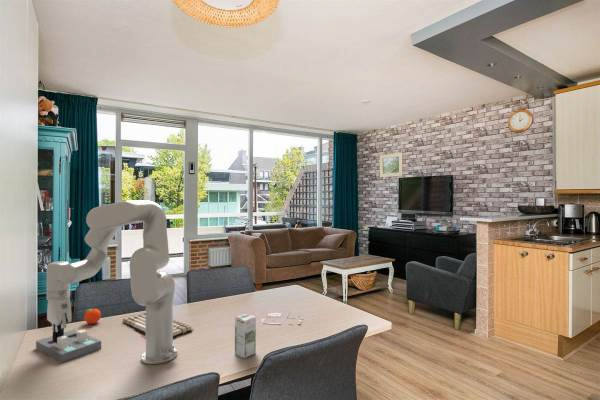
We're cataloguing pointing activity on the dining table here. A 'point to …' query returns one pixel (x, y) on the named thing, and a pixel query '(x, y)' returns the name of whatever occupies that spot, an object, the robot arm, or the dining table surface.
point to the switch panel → (71, 351)
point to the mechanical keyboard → (140, 326)
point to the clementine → (92, 316)
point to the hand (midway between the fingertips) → (58, 340)
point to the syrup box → (245, 335)
